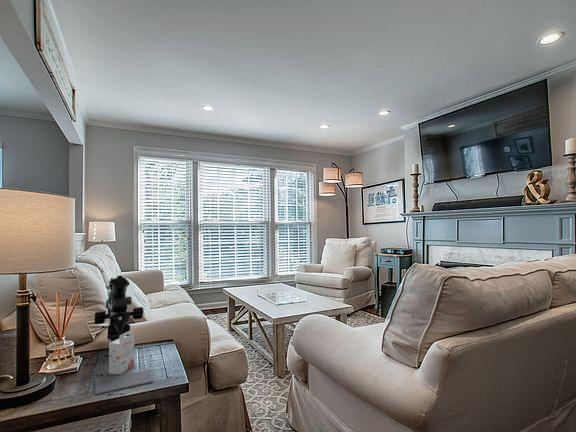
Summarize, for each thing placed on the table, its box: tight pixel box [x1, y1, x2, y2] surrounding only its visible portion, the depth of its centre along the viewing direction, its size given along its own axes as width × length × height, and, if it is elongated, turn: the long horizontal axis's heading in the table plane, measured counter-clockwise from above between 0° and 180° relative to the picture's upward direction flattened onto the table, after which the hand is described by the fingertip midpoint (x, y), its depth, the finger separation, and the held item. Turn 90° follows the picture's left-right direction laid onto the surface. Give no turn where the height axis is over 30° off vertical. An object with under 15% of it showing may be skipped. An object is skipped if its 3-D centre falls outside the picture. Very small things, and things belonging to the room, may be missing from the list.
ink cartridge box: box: [108, 329, 135, 376], centre depth 130 cm, size 9×5×15 cm, turn 168°
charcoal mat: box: [94, 369, 154, 396], centre depth 119 cm, size 11×18×1 cm, turn 121°
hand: (120, 333), depth 138 cm, fingers closed
